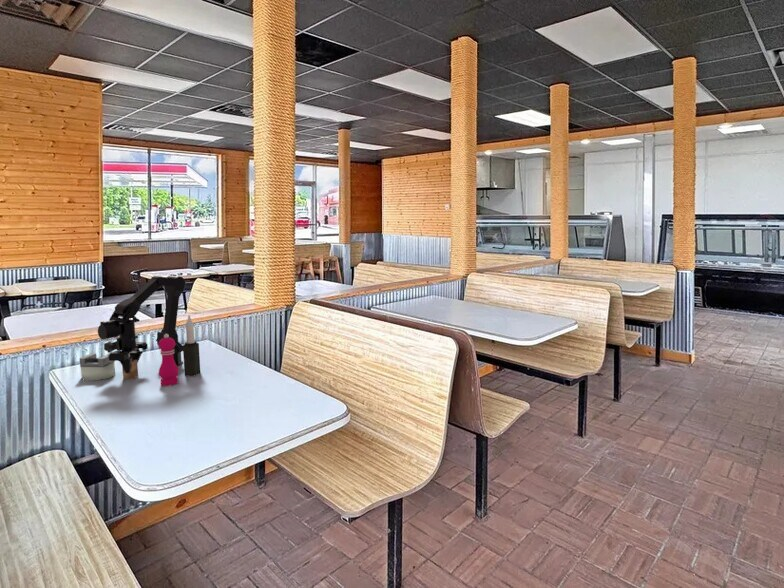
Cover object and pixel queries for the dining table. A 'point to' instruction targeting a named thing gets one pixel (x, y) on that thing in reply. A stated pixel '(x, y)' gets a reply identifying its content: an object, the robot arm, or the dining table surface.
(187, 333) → the candle
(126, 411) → the dining table surface
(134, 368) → the brown block
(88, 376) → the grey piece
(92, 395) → the dining table surface
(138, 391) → the dining table surface
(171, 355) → the pepper mill
